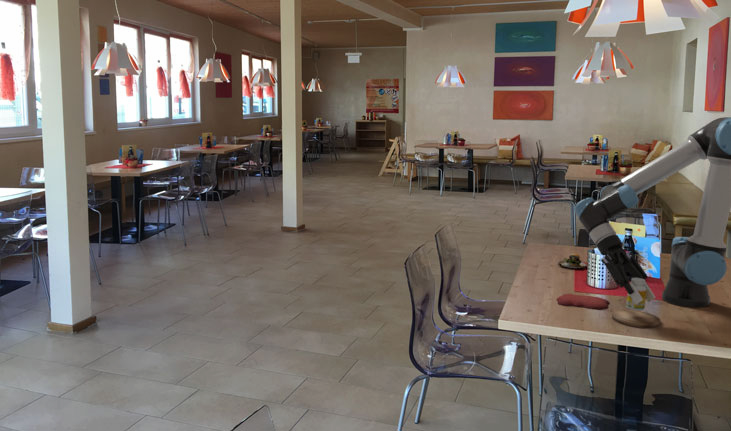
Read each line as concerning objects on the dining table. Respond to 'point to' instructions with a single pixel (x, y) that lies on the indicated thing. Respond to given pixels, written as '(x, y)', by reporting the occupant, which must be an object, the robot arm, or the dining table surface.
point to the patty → (583, 301)
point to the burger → (573, 262)
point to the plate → (636, 318)
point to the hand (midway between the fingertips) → (645, 300)
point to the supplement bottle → (642, 291)
